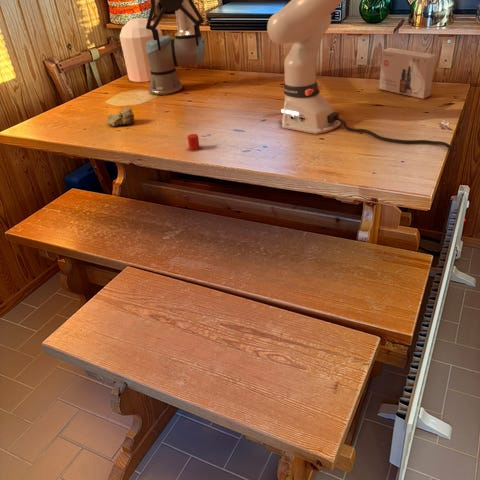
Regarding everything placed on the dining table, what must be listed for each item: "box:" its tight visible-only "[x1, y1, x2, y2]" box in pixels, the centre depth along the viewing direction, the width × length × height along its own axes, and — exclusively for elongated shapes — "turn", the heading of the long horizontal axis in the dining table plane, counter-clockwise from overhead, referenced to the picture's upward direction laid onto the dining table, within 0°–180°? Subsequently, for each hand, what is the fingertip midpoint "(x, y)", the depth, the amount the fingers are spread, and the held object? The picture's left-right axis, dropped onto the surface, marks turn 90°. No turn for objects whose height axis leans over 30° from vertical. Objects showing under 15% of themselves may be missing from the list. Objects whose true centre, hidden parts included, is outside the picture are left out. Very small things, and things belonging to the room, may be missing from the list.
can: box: [187, 133, 201, 152], centre depth 159 cm, size 4×4×5 cm
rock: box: [107, 106, 135, 127], centre depth 186 cm, size 11×6×10 cm
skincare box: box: [378, 47, 437, 100], centre depth 184 cm, size 21×6×16 cm, turn 40°
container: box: [119, 17, 163, 83], centre depth 235 cm, size 21×21×28 cm
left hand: (178, 47), depth 166 cm, fingers open, 13 cm apart
